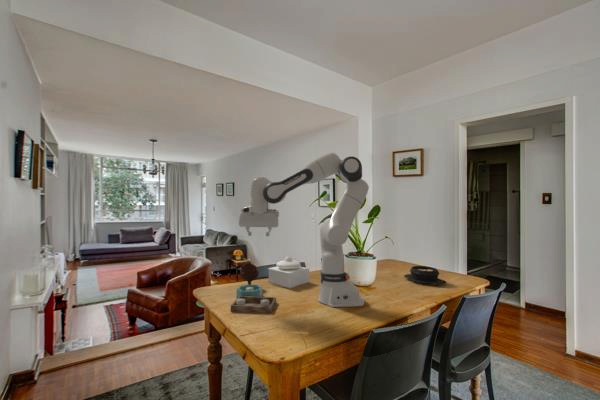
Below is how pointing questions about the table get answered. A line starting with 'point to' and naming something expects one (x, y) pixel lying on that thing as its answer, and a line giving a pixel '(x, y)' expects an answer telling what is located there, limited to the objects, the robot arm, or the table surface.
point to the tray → (254, 305)
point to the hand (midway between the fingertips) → (258, 235)
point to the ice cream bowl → (249, 272)
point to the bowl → (255, 293)
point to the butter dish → (288, 273)
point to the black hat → (425, 275)
